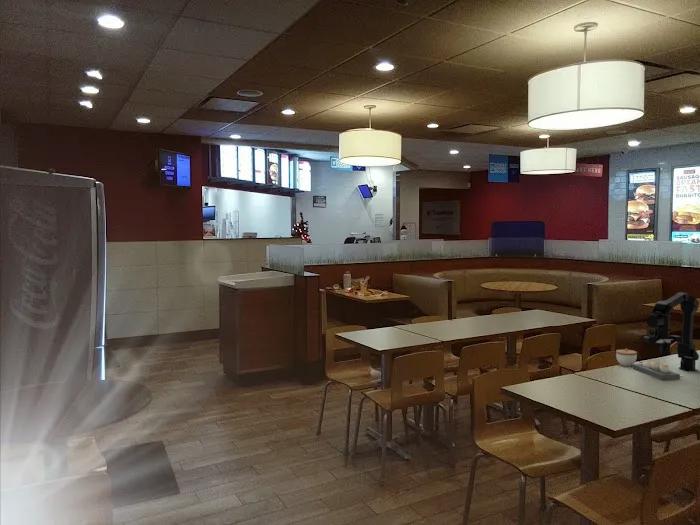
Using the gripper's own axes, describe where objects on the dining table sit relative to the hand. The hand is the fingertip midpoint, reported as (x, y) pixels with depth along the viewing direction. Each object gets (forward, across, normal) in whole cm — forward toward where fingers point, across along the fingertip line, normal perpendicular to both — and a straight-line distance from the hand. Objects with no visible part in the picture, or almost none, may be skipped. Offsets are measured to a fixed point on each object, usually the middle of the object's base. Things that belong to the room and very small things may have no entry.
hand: (662, 355), depth 292 cm
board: (+11, 0, -6) cm, 12 cm away
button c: (+9, 0, +2) cm, 9 cm away
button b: (+9, 0, -5) cm, 11 cm away
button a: (+11, 0, -12) cm, 17 cm away
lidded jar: (+11, +3, -26) cm, 29 cm away
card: (+11, -8, -6) cm, 15 cm away
